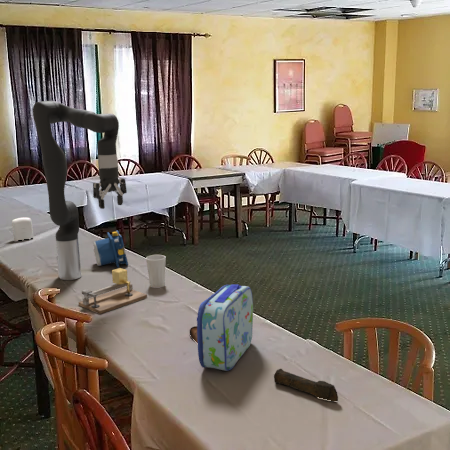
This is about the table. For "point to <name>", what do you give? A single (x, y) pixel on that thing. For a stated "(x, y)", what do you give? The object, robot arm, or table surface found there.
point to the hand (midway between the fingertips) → (111, 206)
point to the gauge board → (110, 298)
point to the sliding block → (120, 277)
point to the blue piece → (110, 250)
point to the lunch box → (225, 326)
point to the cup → (156, 270)
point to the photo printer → (22, 228)
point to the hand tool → (306, 385)
